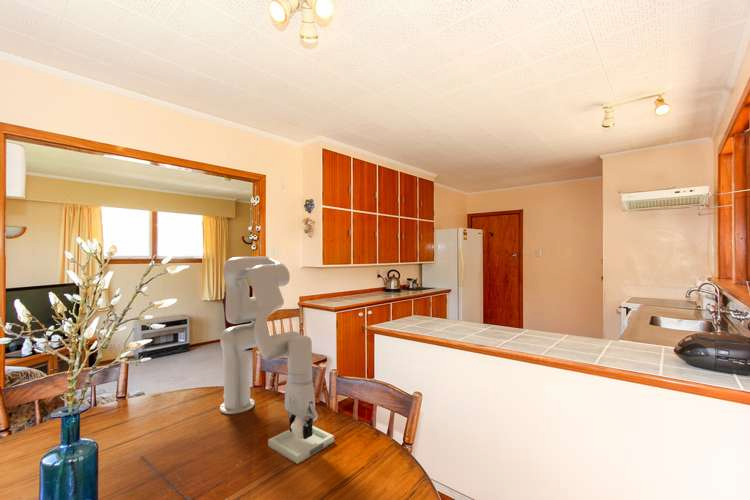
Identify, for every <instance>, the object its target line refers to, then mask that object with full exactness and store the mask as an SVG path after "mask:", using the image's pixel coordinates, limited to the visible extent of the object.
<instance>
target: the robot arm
mask: <svg viewBox="0 0 750 500" xmlns="http://www.w3.org/2000/svg"><path fill="white" fill-rule="evenodd" d="M222 268H223V269H222V274H223V275H222V276H223V281H224V283H225V288H226V289H225V290H226V291H225V318H226V321H227V322H228V323H230V324H240V325H235V326H230V327H228V328H226V329H224V330H223V331H222V332H221V333H220V337H219V341H220V347H221V351H222V358H223V362H222V363H223V394H222V397H223V403H221V404H220V406H219V411H220V412H221V413H223V414H226V415H236V414H241V413H245V412H247V411H249V410H251V409H253V407H254V406H255V400H254V399H253V398H251V374H250V373H251V367H250V365H251V364H250V363H251V362H250V359H249V356H247V354H246V353H245V351H244V350H247V349H252V348H255V347H257V349H258V352H259V354H260V356H261V357H262V358H263V359H264V360H266V361H274V360H278V359H281V358H285V357H287V379H286V384H285V390H284V403H283V404H284V410H285V411H286V413H287V414H288V416H287V417H288V419H289V420H288V421H289V425H288V427H289V429H290V432H292V429H291V424H292V423H293V422H294V420H295V417H296V416H298V417H300V418H303V421H304V426H303V438H304V439H307V438H308V437H310V436H312V434H313V431H312V426H313V424H314V422H315V421H316V420H317V419H318V417H319V414H318V412H317V410H316V395H315V388H314V386H315V385H314V381H313V345H312V344H313V343H312V339H311V337H309V336H308V335H302V334H300V333H299V332H298V331H296V330H295V331H294V330H292V331H287V332H282V333H277V334H273V335H270V333H269V330H268V318H269V316H271V315H272V314H274V313H275V312H277V311H278V310H280V309H281V308H282V307H283V305H284V303H285V299H284V297H283V295H282V292H281V290H280V287H284V286H285V287H286V285H288V284H289V282H290V278H291V276H290V274H291V273H290V271H289V269H288V267H286V265H285V264H284V263H282V262H280V261H278V260H276V259H274V258H272V257H269V256H262V255H261V256H258V255H257V256H235V257H231V258H229V259H227V260H226V261H225V263H224V265H223V267H222ZM247 280H249V283H250V285H249V283H248V281H247ZM250 286H251V288H252V291H253V295H254V296H251V297H250V292H251V291H250ZM249 322H250V323H249ZM242 323H246V324H242ZM307 420H308V421H307Z"/></svg>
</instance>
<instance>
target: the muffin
mask: <svg viewBox="0 0 750 500" xmlns="http://www.w3.org/2000/svg"><path fill="white" fill-rule="evenodd" d="M308 420H309V419H307V421H308ZM303 426H304V421H303V418H300V417H298V416H296V417H295V420H294V422H293V423H292V424H291V429H292V432H293V434H294V436H295V437H296V438H297V439H304V438H303Z"/></svg>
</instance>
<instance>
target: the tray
mask: <svg viewBox="0 0 750 500" xmlns="http://www.w3.org/2000/svg"><path fill="white" fill-rule="evenodd" d="M312 431H313V434H312V436H310V437H308V438H307V439H297V438H296V437H295V436H294V434H293V432H290V428H289V429H288V430H285V431H283V432H281V433H279V434H277V435H275V436H273V437H271V438H268V440H267V445H268V447H269V448H270V449H272V450H274V451H276V452H277V453H278V454H280V455H282V456H284V457H285V458H287V459H288V460H290V461H292V462H293V463H295V464H299V463H301V462H303V461H305V460H306V459H308V458H310V457H312V456H313V455H315V454H317V453H319V452H320V451H321V449H322V450H323V449H325V448H327V447H329V446H331V445H332V444H333V443H335V435H333V434H331V433H329V432H327V431H325V430H323V429H320V428H318V427H317V426H314V425H312ZM328 445H329V446H328Z"/></svg>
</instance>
